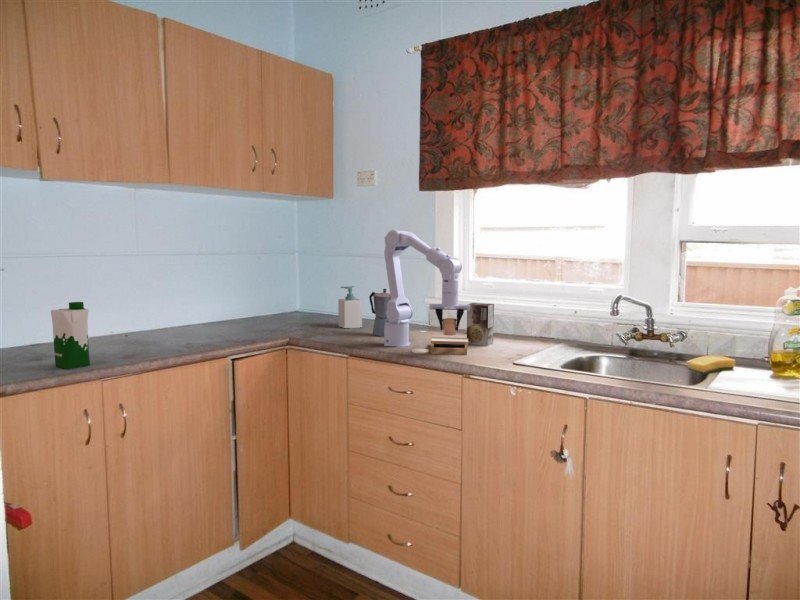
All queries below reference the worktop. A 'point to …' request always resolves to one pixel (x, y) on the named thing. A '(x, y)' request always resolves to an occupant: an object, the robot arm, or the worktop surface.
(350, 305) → the soap bottle
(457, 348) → the cold frame
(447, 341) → the lid
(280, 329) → the worktop surface
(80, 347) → the milk carton
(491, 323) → the coffee box
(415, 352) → the saucer
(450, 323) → the pot
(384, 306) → the moka pot
